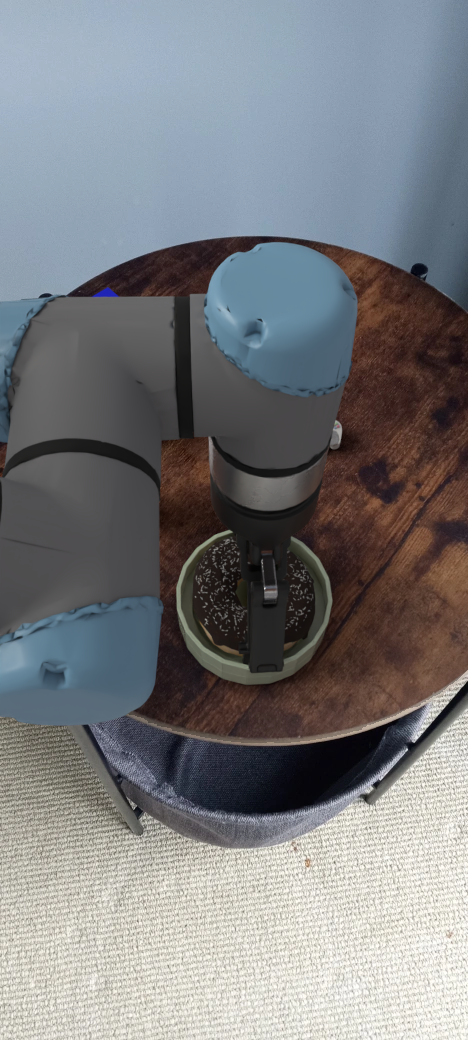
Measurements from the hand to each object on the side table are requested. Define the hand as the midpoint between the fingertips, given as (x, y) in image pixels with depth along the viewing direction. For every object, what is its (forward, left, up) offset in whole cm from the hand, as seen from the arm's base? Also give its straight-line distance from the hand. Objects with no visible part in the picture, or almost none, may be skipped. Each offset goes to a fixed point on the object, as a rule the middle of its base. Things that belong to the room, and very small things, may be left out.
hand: (252, 600), depth 66 cm
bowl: (0, 0, -4) cm, 4 cm away
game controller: (+10, +23, -4) cm, 26 cm away
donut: (0, 0, 0) cm, 0 cm away
